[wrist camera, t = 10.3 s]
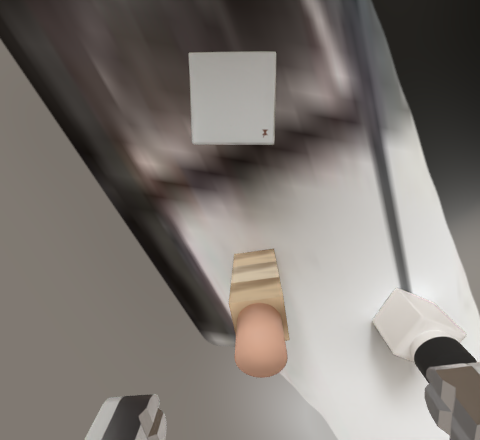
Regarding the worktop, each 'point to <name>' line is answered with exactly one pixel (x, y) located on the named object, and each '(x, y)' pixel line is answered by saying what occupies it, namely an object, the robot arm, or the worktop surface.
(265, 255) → the tower base
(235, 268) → the tower mid
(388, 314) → the medicine bottle
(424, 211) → the worktop surface
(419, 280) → the worktop surface
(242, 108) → the supplement box
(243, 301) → the tower top
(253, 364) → the pink rounded cylinder
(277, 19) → the worktop surface
